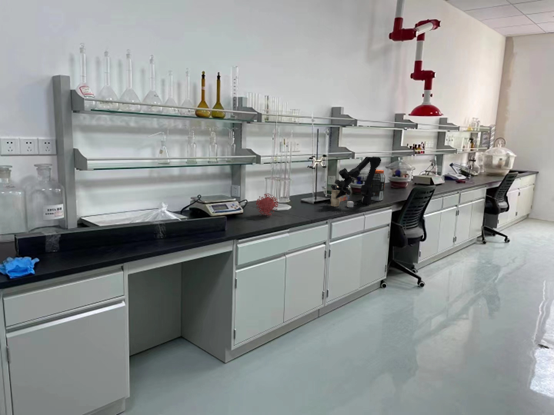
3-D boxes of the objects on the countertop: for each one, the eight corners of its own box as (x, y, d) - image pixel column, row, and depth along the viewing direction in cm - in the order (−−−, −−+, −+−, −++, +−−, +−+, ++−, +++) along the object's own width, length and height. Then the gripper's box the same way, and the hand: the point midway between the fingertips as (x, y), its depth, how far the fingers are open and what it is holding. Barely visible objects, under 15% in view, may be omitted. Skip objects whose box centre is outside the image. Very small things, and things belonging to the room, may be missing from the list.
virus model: (282, 216, 280) (283, 194, 277) (265, 218, 270) (266, 196, 268) (267, 212, 291) (268, 191, 288) (251, 214, 281) (252, 192, 278)
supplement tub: (386, 201, 361) (389, 171, 356) (369, 201, 357) (372, 170, 352) (378, 197, 376) (380, 169, 371) (362, 197, 372) (364, 168, 367)
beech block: (335, 205, 329) (336, 190, 326) (339, 206, 325) (340, 191, 323) (330, 205, 327) (331, 190, 324) (334, 206, 323) (335, 191, 320)
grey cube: (351, 206, 329) (352, 201, 328) (353, 207, 325) (353, 202, 324) (346, 206, 328) (347, 201, 327) (348, 207, 324) (348, 202, 324)
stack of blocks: (342, 198, 364) (343, 184, 362) (349, 199, 361) (350, 185, 358) (331, 201, 347) (332, 186, 345) (337, 202, 344) (339, 187, 341)
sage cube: (339, 203, 339) (339, 198, 338) (338, 204, 334) (338, 199, 333) (333, 202, 340) (333, 198, 340) (332, 203, 336) (332, 199, 335)
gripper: (333, 174, 331) (321, 188, 327) (349, 177, 315) (336, 192, 312) (340, 183, 337) (328, 198, 333) (356, 187, 321) (343, 202, 318)
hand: (334, 197), depth 324 cm, fingers closed on beech block, 4 cm apart
